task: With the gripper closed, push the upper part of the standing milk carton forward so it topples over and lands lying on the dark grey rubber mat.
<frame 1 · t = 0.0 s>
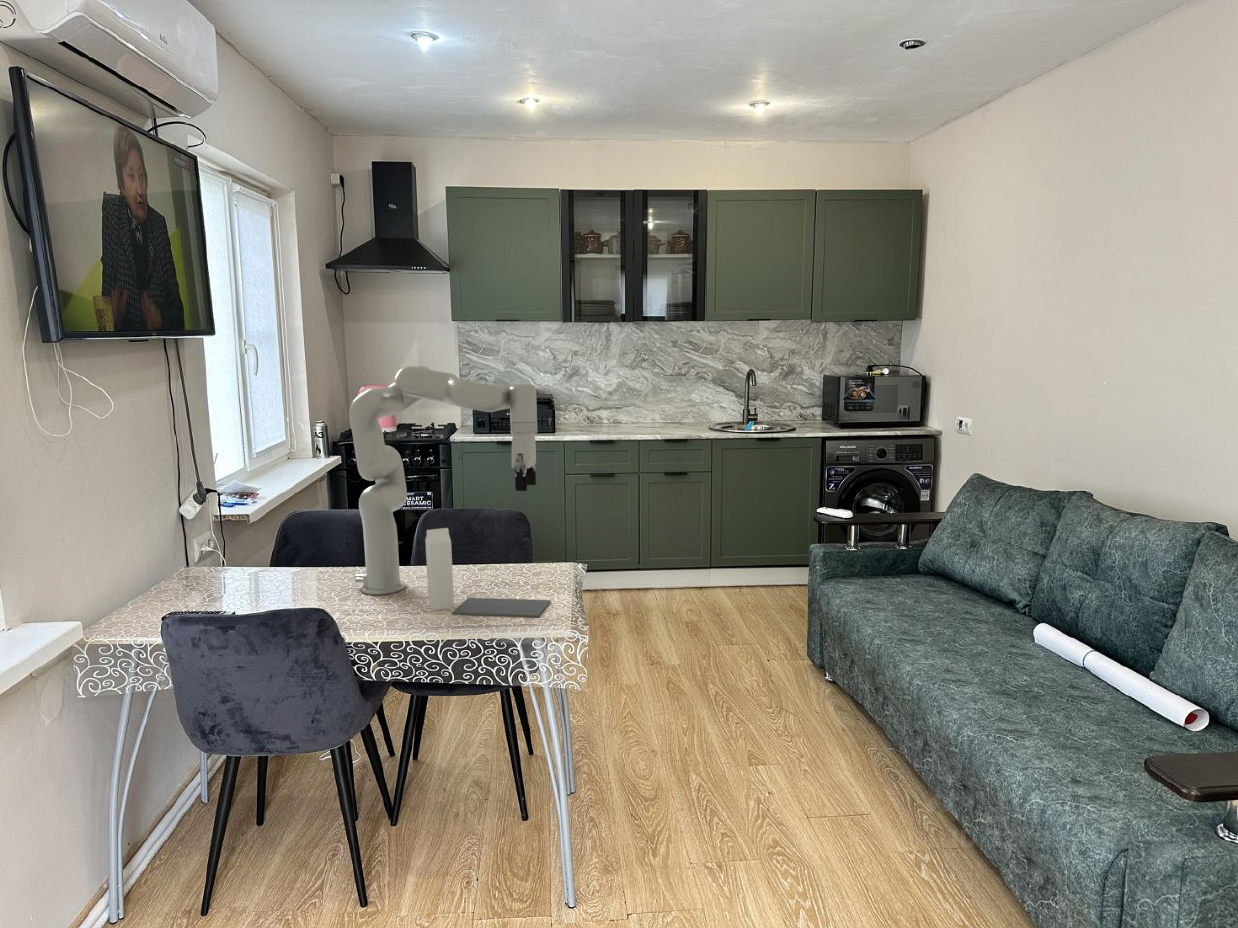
hand: (526, 487, 224), 31 cm above the table, fingers open, 9 cm apart
mat: (502, 608, 215), on the table
milk: (441, 606, 217), on the table
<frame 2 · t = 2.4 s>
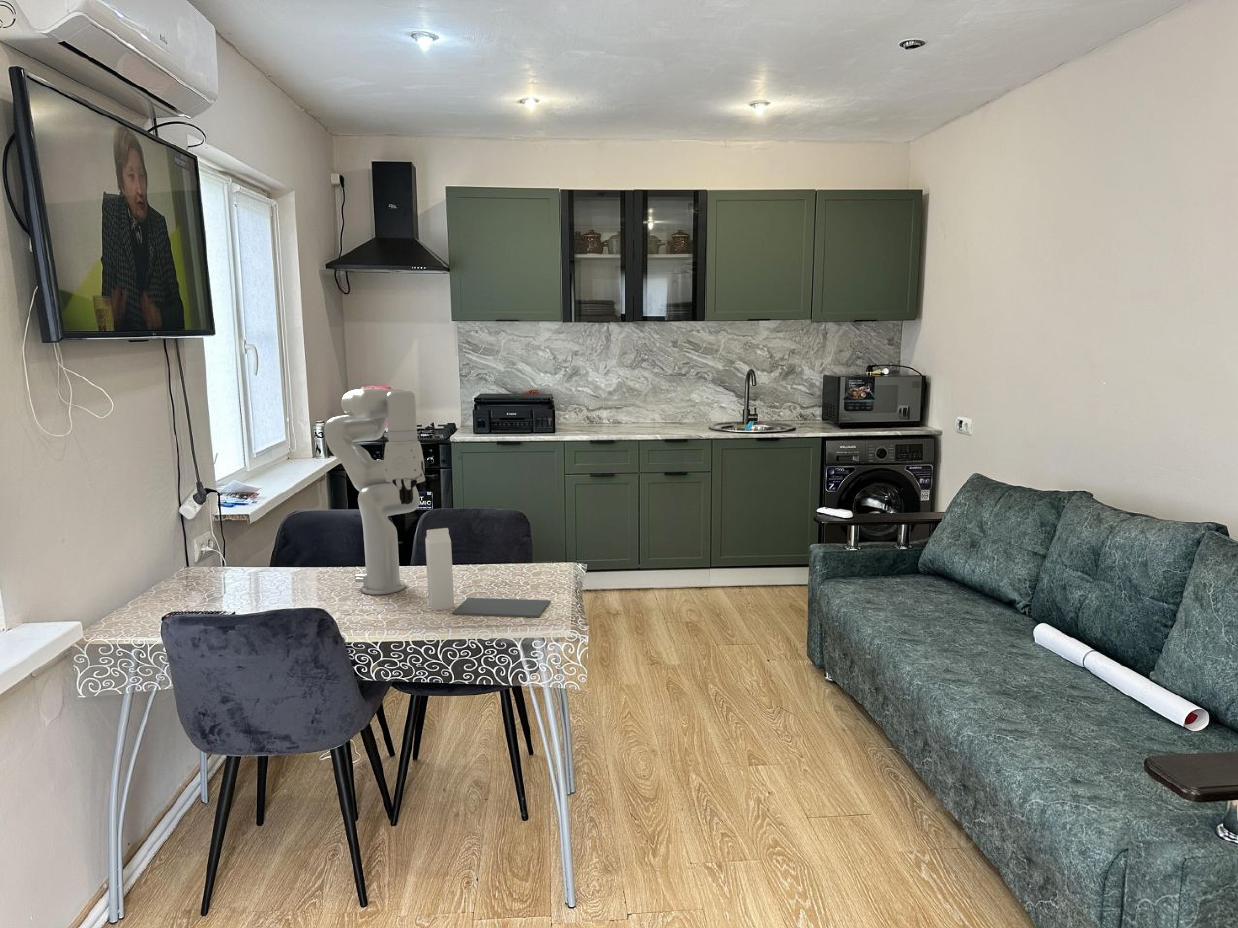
hand: (406, 503, 215), 29 cm above the table, fingers closed
nothing on the table moved.
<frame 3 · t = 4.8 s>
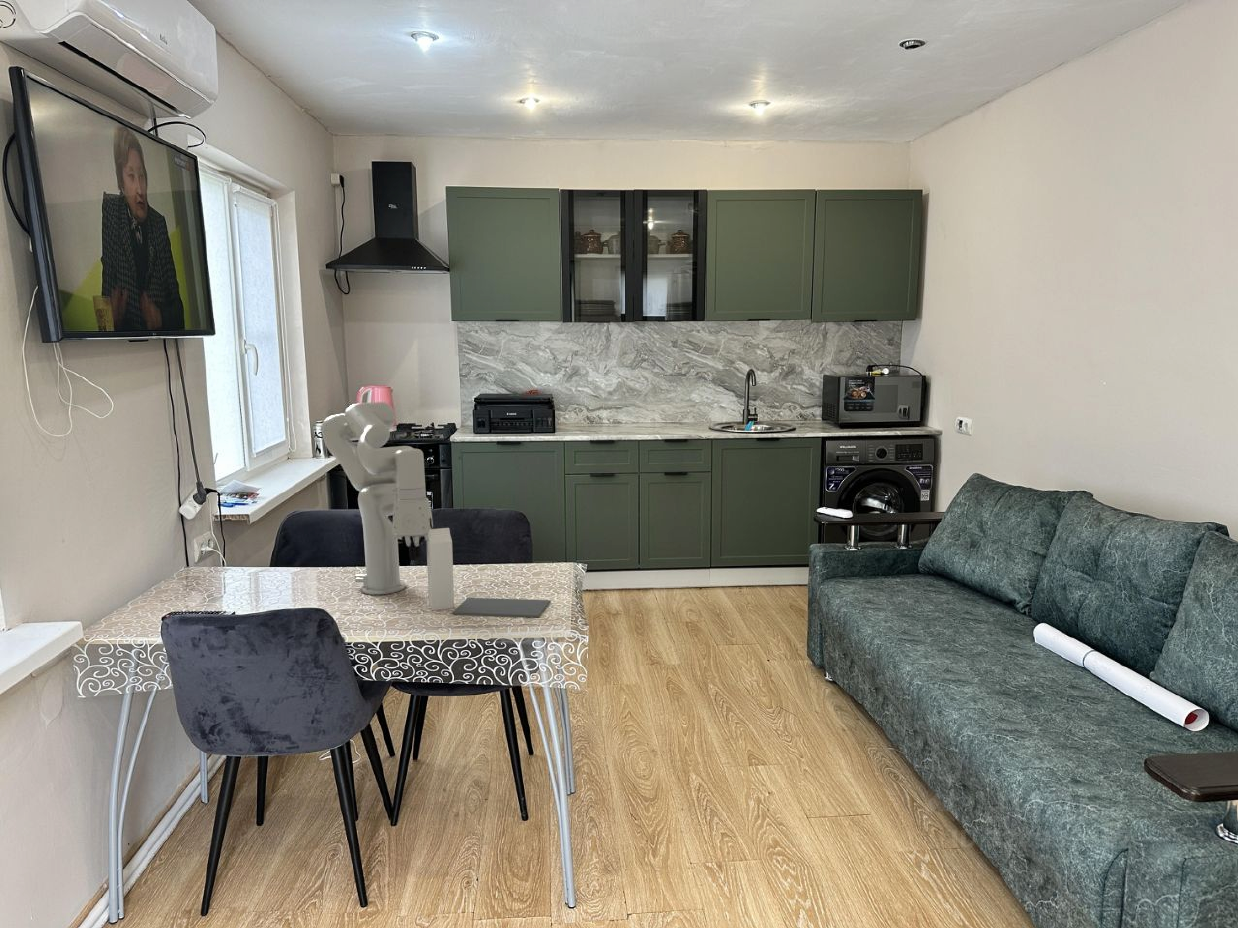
hand: (415, 559, 216), 13 cm above the table, fingers closed
milk: (441, 606, 217), on the table, touching gripper
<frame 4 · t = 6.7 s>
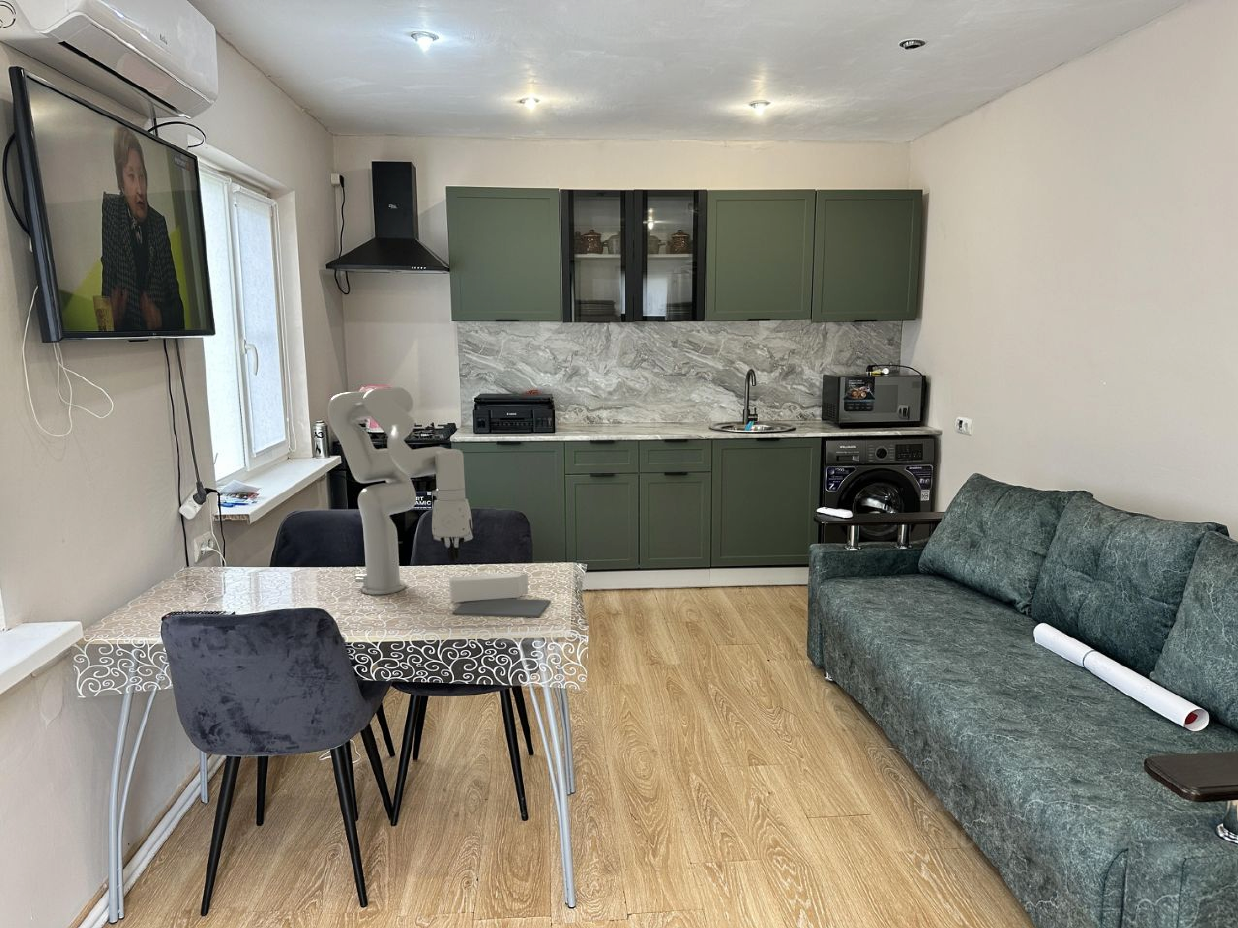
hand: (454, 560, 215), 13 cm above the table, fingers closed
milk: (449, 589, 220), point 4 cm above the table, touching mat
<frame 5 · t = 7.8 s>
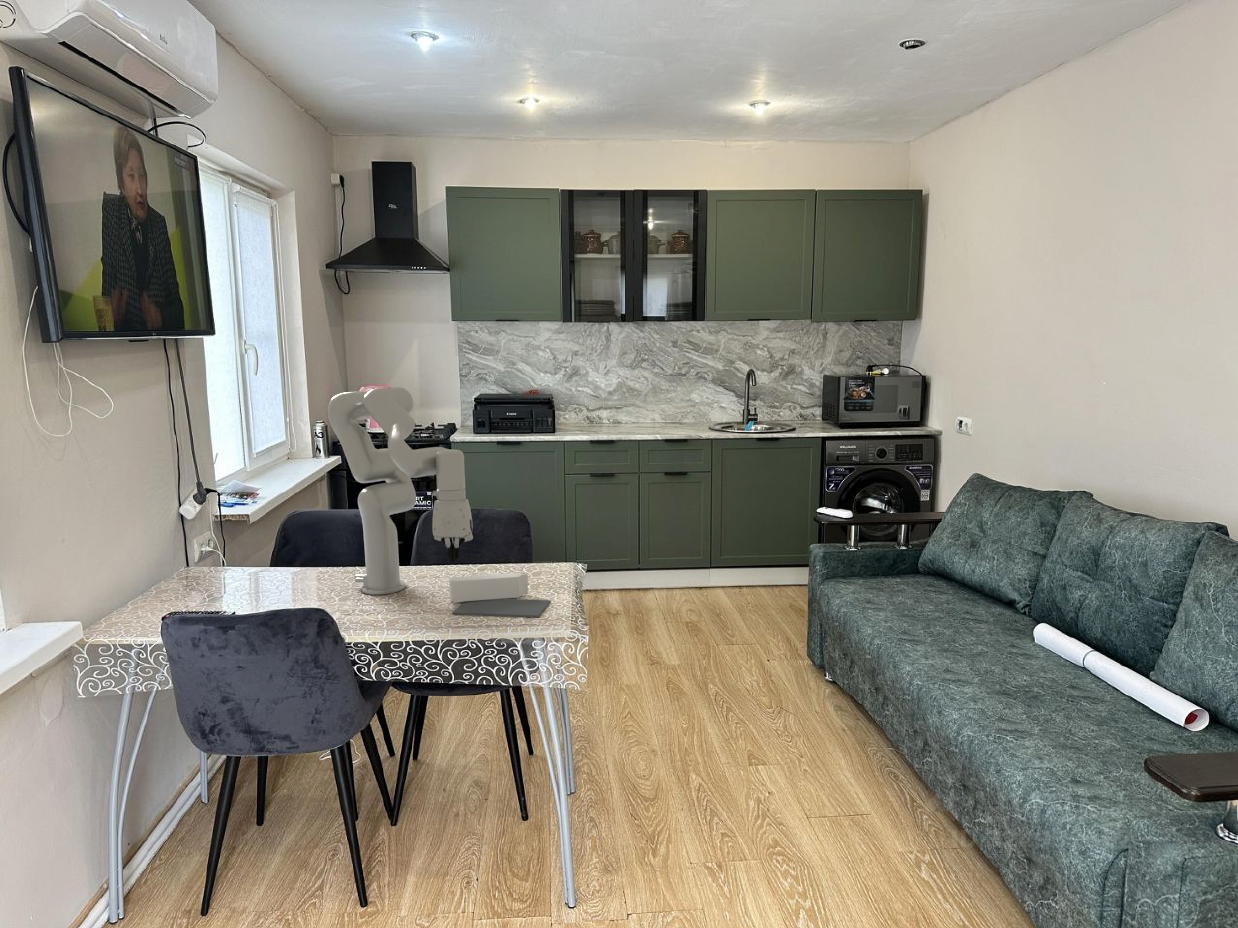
hand: (454, 560, 215), 13 cm above the table, fingers closed
nothing on the table moved.
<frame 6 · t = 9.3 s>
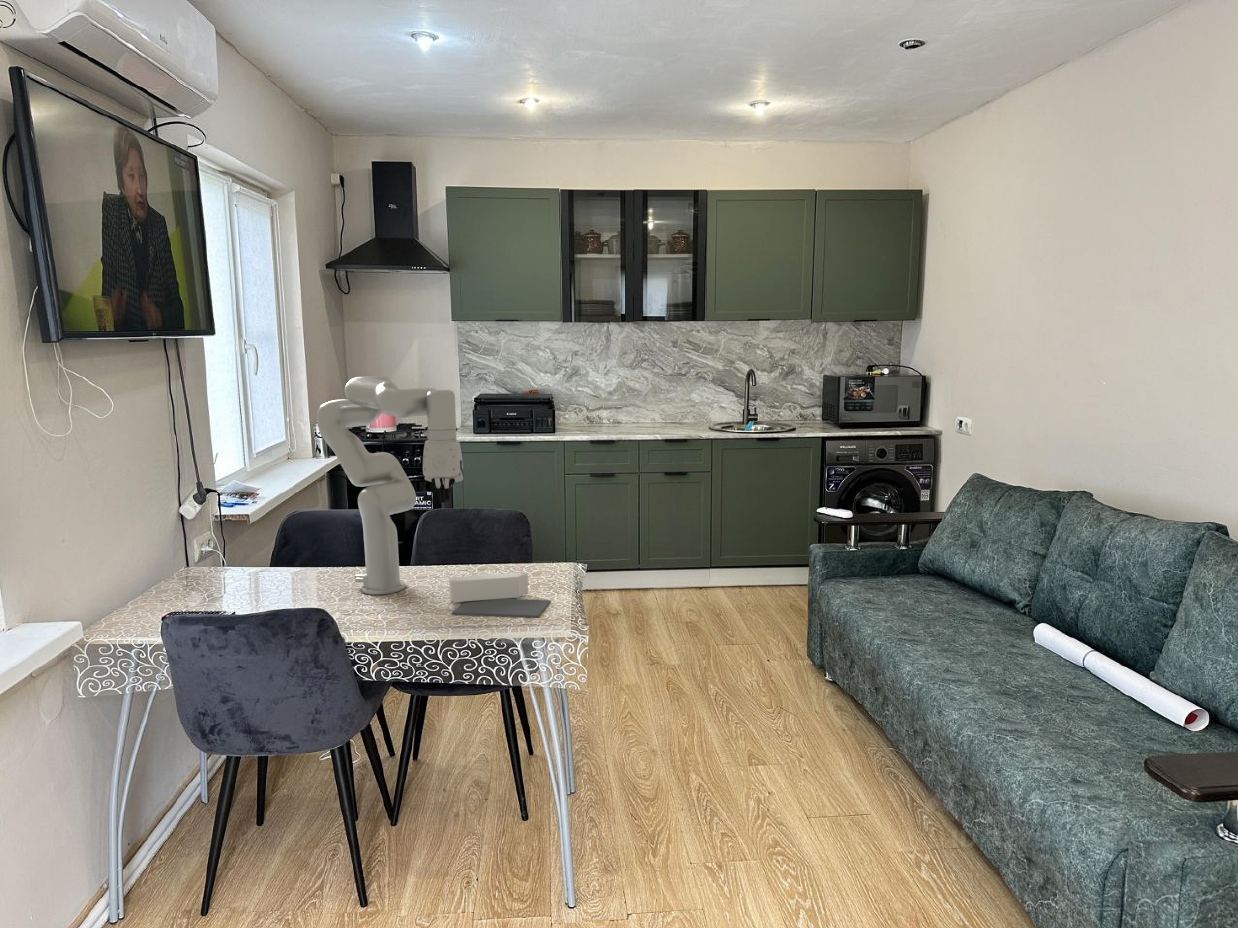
hand: (444, 501, 215), 29 cm above the table, fingers closed
nothing on the table moved.
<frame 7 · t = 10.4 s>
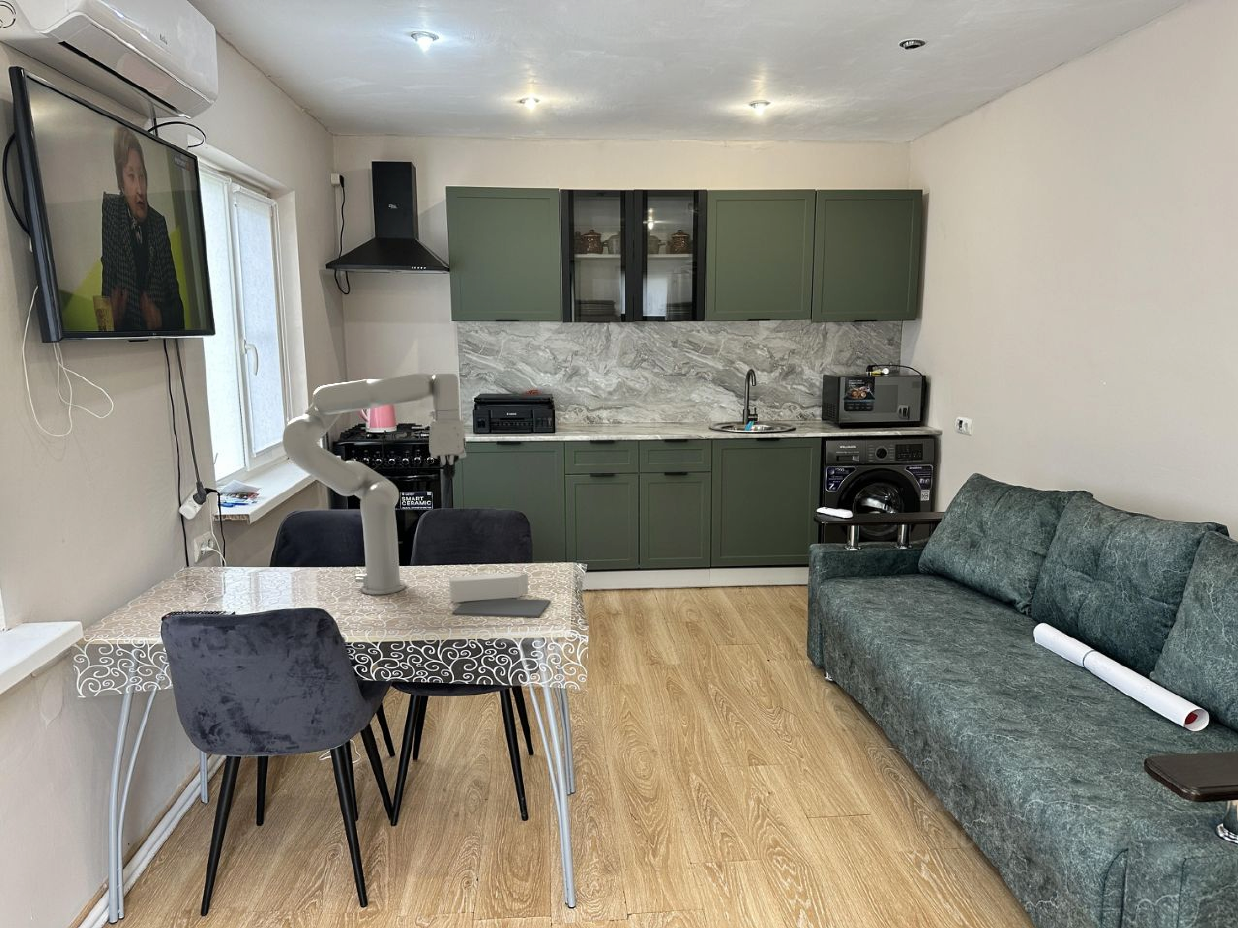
hand: (449, 477, 233), 33 cm above the table, fingers closed
nothing on the table moved.
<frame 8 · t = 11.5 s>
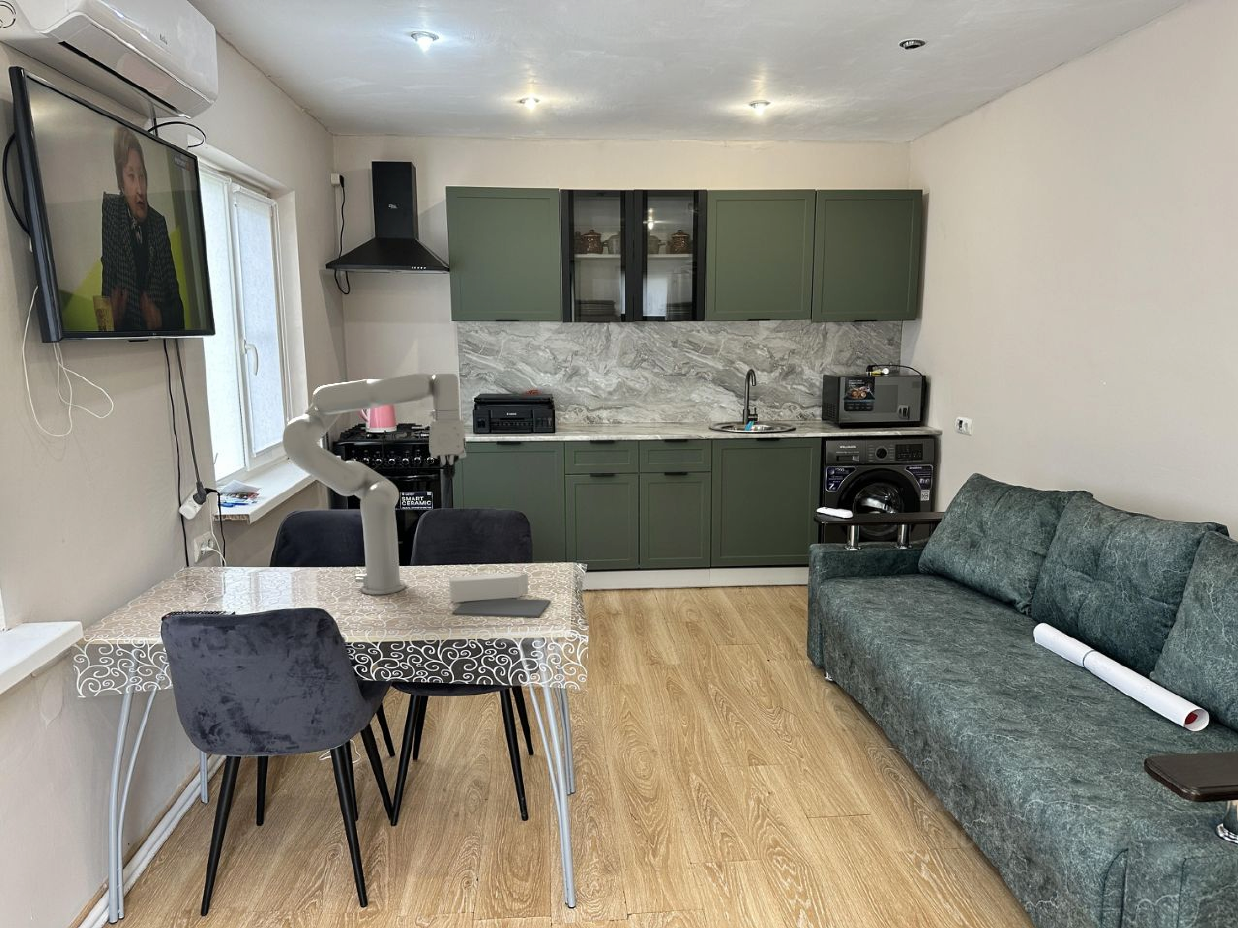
hand: (449, 477, 233), 33 cm above the table, fingers closed
nothing on the table moved.
at the end: milk tilted 92°; milk inside the target area (8.5 cm from its centre), point 3.9 cm above the table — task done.
